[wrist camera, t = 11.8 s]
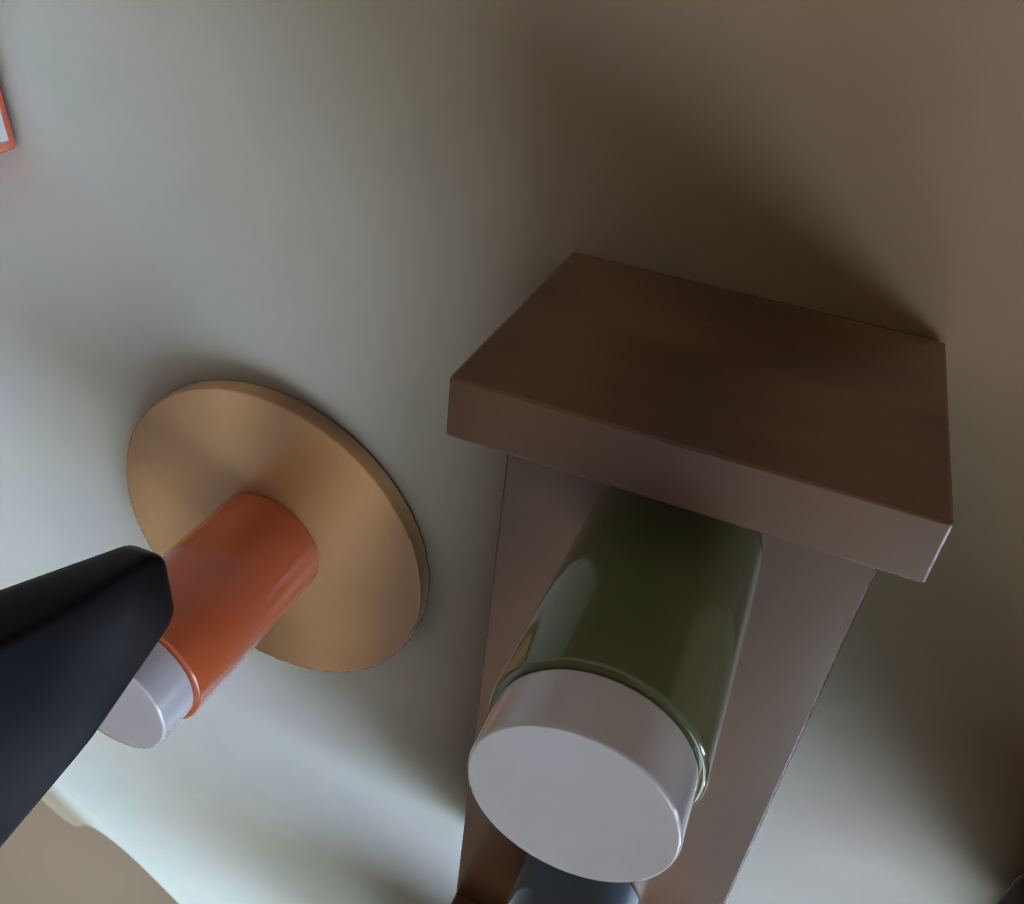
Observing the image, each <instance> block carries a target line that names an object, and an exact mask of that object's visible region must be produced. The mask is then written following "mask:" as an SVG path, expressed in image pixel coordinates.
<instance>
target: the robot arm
mask: <svg viewBox="0 0 1024 904" xmlns="http://www.w3.org/2000/svg"><path fill="white" fill-rule="evenodd" d="M173 611H174V604H173V598H172V593H171V588H170V583H169V578H168V573H167V568H166V564H165V561H164V559H163V558H162V557H161V556H160V555H158V554H156V553H153V552H151V551H148V550H145V549H143V548H140V547H137V546H123V547H120V548H117V549H114V550H111V551H108V552H106V553H103V554H100V555H97V556H95V557H92V558H89V559H86V560H83V561H81V562H78V563H75V564H72V565H69V566H67V567H64V568H61V569H58V570H55V571H53V572H50V573H47V574H44V575H41V576H39V577H36V578H33V579H30V580H27V581H25V582H22V583H19V584H16V585H13V586H11V587H8V588H5V589H2V590H0V847H1V846H2V845H3V843H4V842H5V841H6V840H7V839H8V837H9V836H10V835H11V834H12V833H13V831H14V830H15V829H16V828H17V827H18V826H19V824H20V823H21V822H22V821H23V820H24V818H25V817H26V816H27V815H28V814H29V812H30V811H31V810H32V809H33V808H34V806H35V805H36V804H37V803H38V802H39V801H40V799H41V798H42V797H43V796H44V795H45V793H46V792H47V791H48V790H49V789H50V787H51V786H52V785H53V784H54V783H55V781H56V780H57V779H58V778H59V777H60V775H61V774H62V773H63V772H64V771H65V769H66V768H67V767H68V766H69V765H70V764H71V762H72V761H73V760H74V759H75V758H76V756H77V755H78V754H79V753H80V751H81V750H82V749H83V748H84V746H85V745H86V744H87V743H88V741H89V740H90V739H91V738H92V736H93V735H94V733H95V732H96V731H97V729H98V728H99V727H100V725H101V724H102V723H103V721H104V720H105V718H106V717H107V715H108V714H109V713H110V711H111V710H112V708H113V707H114V705H115V704H116V702H117V701H118V699H119V698H120V696H121V695H122V694H123V692H124V691H125V689H126V688H127V686H128V685H129V683H130V682H131V680H132V679H133V678H134V676H135V675H136V673H137V672H138V670H139V669H140V667H141V666H142V664H143V663H144V662H145V660H146V659H147V657H148V656H149V654H150V653H151V651H152V650H153V648H154V647H155V645H156V644H157V643H158V641H159V640H160V638H161V637H162V635H163V634H164V632H165V631H166V629H167V628H168V626H169V624H170V622H171V619H172V616H173ZM997 904H1024V875H1021V876H1019V877H1017V878H1016V879H1015V880H1014V881H1013V883H1012V884H1011V885H1010V887H1009V888H1008V889H1007V891H1006V892H1005V894H1004V895H1003V896H1002V898H1001V899H1000V900H999V902H998V903H997Z"/></svg>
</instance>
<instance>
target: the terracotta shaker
mask: <svg viewBox="0 0 1024 904" xmlns="http://www.w3.org/2000/svg"><path fill="white" fill-rule="evenodd" d="M161 557H162V558H163V559H164V561H165V564H166V568H167V573H168V578H169V583H170V588H171V593H172V598H173V604H174V611H173V616H172V619H171V622H170V624H169V626H168V628H167V629H166V631H165V632H164V634H163V635H162V637H161V638H160V640H159V641H158V643H157V644H156V645H155V647H154V648H153V650H152V651H151V653H150V654H149V656H148V657H147V659H146V660H145V662H144V663H143V664H142V666H141V667H140V669H139V670H138V672H137V673H136V675H135V676H134V678H133V679H132V680H131V682H130V683H129V685H128V686H127V688H126V689H125V691H124V692H123V694H122V695H121V696H120V698H119V699H118V701H117V702H116V704H115V705H114V707H113V708H112V710H111V711H110V713H109V714H108V715H107V717H106V718H105V720H104V721H103V723H102V724H101V725H100V727H99V728H98V730H99V731H101V732H102V733H104V734H105V735H107V736H109V737H110V738H112V739H114V740H116V741H118V742H120V743H123V744H125V745H128V746H131V747H135V748H142V749H147V748H152V747H155V746H157V745H159V744H160V743H161V742H163V740H164V739H165V738H166V737H167V736H168V735H169V734H170V733H171V732H172V730H173V729H174V728H175V727H176V726H177V725H178V724H179V723H180V722H181V720H182V719H186V718H189V717H191V716H193V715H194V714H195V713H196V712H197V711H198V710H199V709H200V708H201V707H202V705H203V704H204V703H205V702H206V701H207V700H208V699H209V698H210V696H211V695H212V694H213V693H214V692H215V691H216V690H217V689H218V687H219V686H220V685H221V684H222V683H223V682H224V681H225V680H226V679H227V677H228V676H229V675H230V674H231V673H232V672H233V671H234V670H235V668H236V667H237V666H238V665H239V664H240V663H241V662H242V661H243V659H244V658H245V657H246V656H247V655H248V654H249V653H250V652H251V650H252V649H253V648H254V647H255V646H256V645H257V644H258V643H259V642H260V640H261V639H262V638H263V637H264V636H265V635H266V634H267V633H268V631H269V630H270V629H271V628H272V627H273V626H274V625H275V624H276V622H277V621H278V620H279V619H280V618H281V617H282V616H283V615H284V613H285V612H286V611H287V610H288V609H289V608H290V607H291V606H292V605H293V603H294V602H295V601H296V600H297V599H298V598H299V597H300V596H301V594H302V593H303V592H304V591H305V590H306V589H307V588H308V587H309V585H310V584H311V583H312V582H313V581H314V579H315V578H316V575H317V572H318V568H319V559H318V553H317V549H316V547H315V544H314V542H313V540H312V538H311V536H310V534H309V533H308V531H307V530H306V528H305V527H304V526H303V524H302V523H301V522H300V521H299V520H298V519H297V518H296V517H295V516H294V515H293V514H292V513H291V512H290V511H288V510H287V509H286V508H285V507H283V506H282V505H280V504H278V503H277V502H275V501H273V500H271V499H269V498H266V497H264V496H260V495H257V494H251V493H242V494H236V495H233V496H231V497H229V498H227V499H226V500H225V501H224V502H223V503H221V504H220V505H219V506H218V507H217V508H216V509H214V510H213V511H212V512H211V513H210V514H209V515H208V516H206V517H205V518H204V519H203V520H202V521H201V522H199V523H198V524H197V525H196V526H195V527H194V528H192V529H191V530H190V531H189V532H188V533H187V534H186V535H184V536H183V537H182V538H181V539H180V540H179V541H177V542H176V543H175V544H174V545H173V546H172V547H170V548H169V549H168V550H167V551H166V552H165V553H164V554H162V555H161Z"/></svg>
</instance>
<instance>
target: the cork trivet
mask: <svg viewBox="0 0 1024 904" xmlns="http://www.w3.org/2000/svg"><path fill="white" fill-rule="evenodd" d="M127 482H128V489H129V494H130V498H131V502H132V506H133V509H134V512H135V515H136V517H137V520H138V523H139V525H140V528H141V530H142V532H143V534H144V536H145V538H146V540H147V542H148V544H149V545H150V547H151V549H152V550H153V552H154V553H156V554H158V555H160V556H161V555H162V554H164V553H165V552H166V551H167V550H168V549H169V548H170V547H172V546H173V545H174V544H175V543H176V542H177V541H179V540H180V539H181V538H182V537H183V536H184V535H186V534H187V533H188V532H189V531H190V530H191V529H192V528H194V527H195V526H196V525H197V524H198V523H199V522H201V521H202V520H203V519H204V518H205V517H206V516H208V515H209V514H210V513H211V512H212V511H213V510H214V509H216V508H217V507H218V506H219V505H220V504H221V503H223V502H224V501H225V500H226V499H227V498H229V497H231V496H233V495H236V494H242V493H251V494H257V495H260V496H264V497H266V498H269V499H271V500H273V501H275V502H277V503H278V504H280V505H282V506H283V507H285V508H286V509H287V510H288V511H290V512H291V513H292V514H293V515H294V516H295V517H296V518H297V519H298V520H299V521H300V522H301V523H302V524H303V526H304V527H305V528H306V530H307V531H308V533H309V534H310V536H311V538H312V540H313V542H314V544H315V547H316V549H317V553H318V559H319V568H318V572H317V575H316V578H315V579H314V581H313V582H312V583H311V584H310V585H309V587H308V588H307V589H306V590H305V591H304V592H303V593H302V594H301V596H300V597H299V598H298V599H297V600H296V601H295V602H294V603H293V605H292V606H291V607H290V608H289V609H288V610H287V611H286V612H285V613H284V615H283V616H282V617H281V618H280V619H279V620H278V621H277V622H276V624H275V625H274V626H273V627H272V628H271V629H270V630H269V631H268V633H267V634H266V635H265V636H264V637H263V638H262V639H261V640H260V642H259V643H258V644H257V645H256V646H255V647H254V648H256V649H257V650H259V651H261V652H263V653H266V654H268V655H270V656H272V657H274V658H277V659H279V660H282V661H285V662H288V663H291V664H293V665H297V666H301V667H305V668H309V669H314V670H321V671H331V672H347V671H355V670H361V669H365V668H368V667H372V666H375V665H377V664H379V663H381V662H383V661H385V660H387V659H389V658H390V657H391V656H393V655H394V654H395V653H397V652H398V651H399V650H400V649H401V648H402V647H403V645H404V644H405V643H406V642H407V641H408V640H409V638H410V637H411V635H412V634H413V632H414V631H415V629H416V627H417V626H418V624H419V622H420V620H421V619H422V616H423V613H424V610H425V607H426V604H427V597H428V590H429V569H428V563H427V557H426V551H425V548H424V545H423V541H422V538H421V535H420V531H419V529H418V527H417V525H416V522H415V520H414V518H413V515H412V513H411V511H410V509H409V507H408V506H407V504H406V502H405V501H404V499H403V497H402V495H401V494H400V492H399V490H398V489H397V487H396V486H395V485H394V483H393V482H392V481H391V479H390V478H389V476H388V475H387V474H386V472H385V471H384V470H383V469H382V467H381V466H380V465H379V464H378V463H377V462H376V461H375V459H374V458H373V457H372V456H371V455H370V454H369V453H368V452H367V451H366V450H365V449H364V448H363V447H362V446H361V445H360V444H359V443H358V442H357V441H356V440H355V439H354V438H353V437H352V436H351V435H349V434H348V433H347V432H345V431H344V430H343V429H342V428H340V427H339V426H338V425H337V424H335V423H334V422H333V421H331V420H330V419H329V418H327V417H325V416H324V415H322V414H321V413H319V412H318V411H316V410H315V409H313V408H311V407H310V406H308V405H306V404H304V403H302V402H300V401H298V400H296V399H294V398H292V397H290V396H288V395H286V394H283V393H280V392H278V391H275V390H272V389H270V388H267V387H263V386H259V385H255V384H251V383H247V382H239V381H231V380H213V381H203V382H198V383H194V384H189V385H187V386H185V387H182V388H180V389H177V390H175V391H174V392H172V393H171V394H169V395H168V396H166V397H165V398H163V399H162V400H160V401H159V402H157V403H156V404H154V405H153V406H152V407H151V408H150V409H149V410H148V411H147V412H146V413H145V414H144V415H143V416H142V418H141V419H140V421H139V422H138V424H137V426H136V427H135V429H134V432H133V434H132V437H131V440H130V443H129V448H128V454H127Z"/></svg>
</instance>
